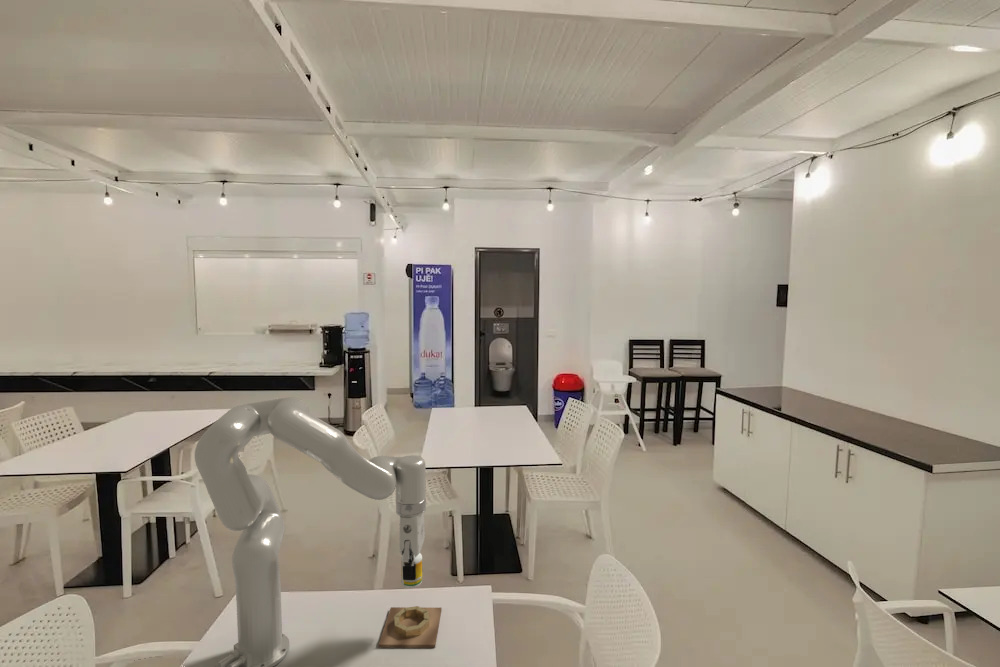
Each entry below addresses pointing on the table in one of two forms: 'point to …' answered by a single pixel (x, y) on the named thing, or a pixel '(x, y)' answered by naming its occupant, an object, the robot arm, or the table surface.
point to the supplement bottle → (418, 572)
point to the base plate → (398, 641)
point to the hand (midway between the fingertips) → (411, 571)
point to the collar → (411, 630)
